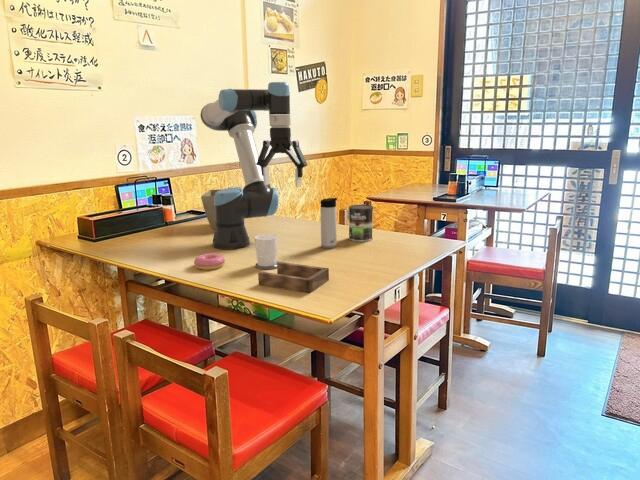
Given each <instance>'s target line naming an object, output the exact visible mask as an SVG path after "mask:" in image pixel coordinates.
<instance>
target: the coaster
mask: <svg viewBox="0 0 640 480" xmlns="http://www.w3.org/2000/svg"><path fill="white" fill-rule="evenodd" d="M278 262H279V261H278V260H276V265H274V266H269V267H263V266H259V265H258V262H257V263H255V268H256V269H257V270H258V269H259V270H265V271H266V270H268V271H269V270H276V269H277V263H278Z"/></svg>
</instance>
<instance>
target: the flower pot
mask: <svg viewBox="0 0 640 480" xmlns="http://www.w3.org/2000/svg"><path fill="white" fill-rule="evenodd" d="M222 189H223V188H221V189H209V190H208V191H206V192H204V193H203V194H201V195H200V197H201V198H200V199H201V202H202V203H201V204H202V206H203V210H204V213H205V216H206V218H207V221H208V224H209V226H210V229H212V230H216V220H215V206H214V195H215V193H216V192H217V191H219V190H222Z"/></svg>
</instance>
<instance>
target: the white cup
mask: <svg viewBox="0 0 640 480" xmlns="http://www.w3.org/2000/svg"><path fill="white" fill-rule="evenodd" d="M254 243H255V251H256V252H255V254H256V258H257V259H256V260H257V263H258V265H259V266H263V267H269V266H274V265H276V261H277V256H278V235H276V234H270V233H269V234H268V233H267V234H264V233H263V234H259V235H255V236H254Z"/></svg>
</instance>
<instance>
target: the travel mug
mask: <svg viewBox="0 0 640 480" xmlns="http://www.w3.org/2000/svg"><path fill="white" fill-rule="evenodd" d="M337 201H338V198H337V197H330V198H329V197H328V198H323V199H321V200H320V246H321V248H323V249H326V250H329V249H336V248H337V246H338V245H337V240H338V239H337Z"/></svg>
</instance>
